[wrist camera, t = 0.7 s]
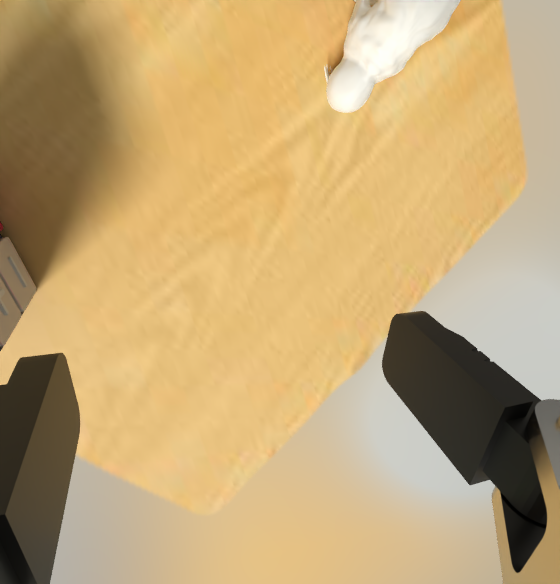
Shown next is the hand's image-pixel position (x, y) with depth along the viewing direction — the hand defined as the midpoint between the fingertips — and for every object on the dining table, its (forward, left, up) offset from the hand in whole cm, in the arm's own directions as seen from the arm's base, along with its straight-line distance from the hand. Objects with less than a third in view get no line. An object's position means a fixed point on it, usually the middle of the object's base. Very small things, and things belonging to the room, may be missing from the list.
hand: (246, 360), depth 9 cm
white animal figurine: (-6, +21, -27) cm, 35 cm away
